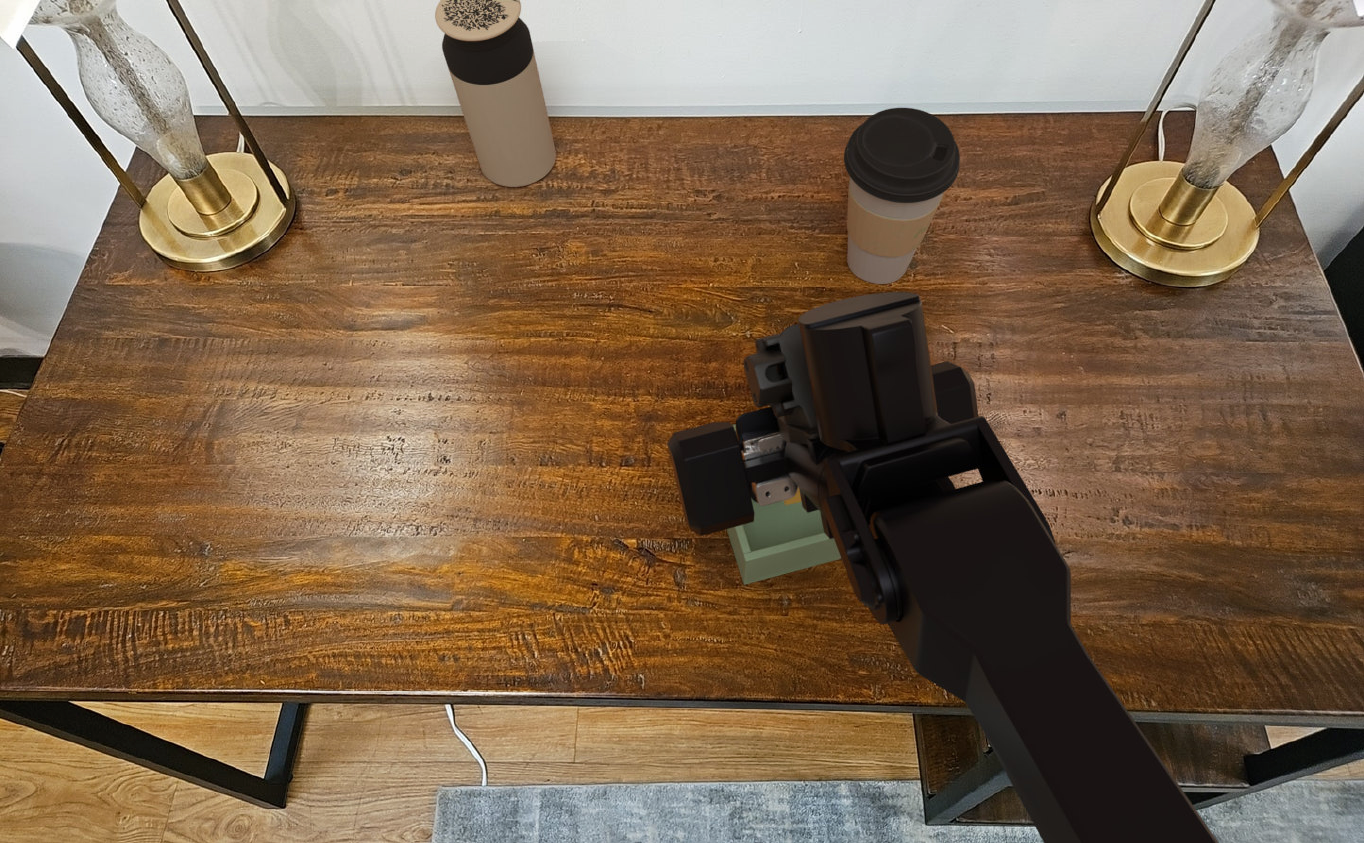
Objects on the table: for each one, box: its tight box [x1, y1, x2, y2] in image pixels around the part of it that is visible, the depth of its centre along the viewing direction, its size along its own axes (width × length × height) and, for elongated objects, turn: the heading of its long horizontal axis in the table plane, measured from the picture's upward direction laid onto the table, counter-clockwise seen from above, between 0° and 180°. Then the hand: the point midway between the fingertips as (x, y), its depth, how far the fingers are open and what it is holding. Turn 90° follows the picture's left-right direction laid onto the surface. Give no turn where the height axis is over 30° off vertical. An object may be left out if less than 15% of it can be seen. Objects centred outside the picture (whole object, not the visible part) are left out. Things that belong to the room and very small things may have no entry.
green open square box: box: [726, 423, 842, 586], centre depth 71 cm, size 11×11×6 cm
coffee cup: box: [843, 107, 961, 285], centre depth 78 cm, size 9×9×15 cm
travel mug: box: [434, 0, 557, 188], centre depth 85 cm, size 8×8×18 cm
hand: (788, 413), depth 62 cm, fingers closed on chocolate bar, 3 cm apart
